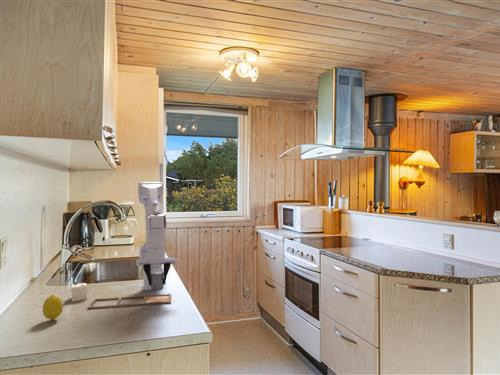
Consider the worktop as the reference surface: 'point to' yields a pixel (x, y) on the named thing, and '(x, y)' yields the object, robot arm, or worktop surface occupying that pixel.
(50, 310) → the lemon
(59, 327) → the worktop surface
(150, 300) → the board
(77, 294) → the die
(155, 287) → the grey rounded cylinder
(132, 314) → the worktop surface
